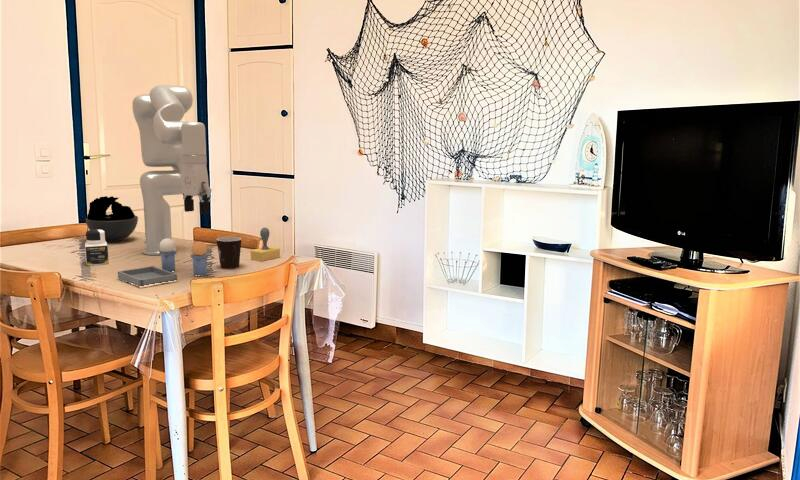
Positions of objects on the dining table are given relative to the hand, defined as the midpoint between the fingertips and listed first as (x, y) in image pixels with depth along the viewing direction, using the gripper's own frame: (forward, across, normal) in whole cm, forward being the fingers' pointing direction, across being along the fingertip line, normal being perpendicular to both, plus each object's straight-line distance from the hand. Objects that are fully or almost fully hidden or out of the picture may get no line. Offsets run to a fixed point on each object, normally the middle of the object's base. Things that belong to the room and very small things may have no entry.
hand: (196, 212), depth 212 cm
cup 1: (+21, -12, -5) cm, 25 cm away
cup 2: (+21, 0, 0) cm, 21 cm away
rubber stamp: (+21, -7, +32) cm, 39 cm away
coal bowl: (+20, -78, +5) cm, 81 cm away
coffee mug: (+21, -3, +13) cm, 25 cm away
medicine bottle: (+21, -41, -17) cm, 49 cm away
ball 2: (+12, 0, 0) cm, 12 cm away
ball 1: (+12, -12, -5) cm, 17 cm away
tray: (+21, -5, -16) cm, 27 cm away
